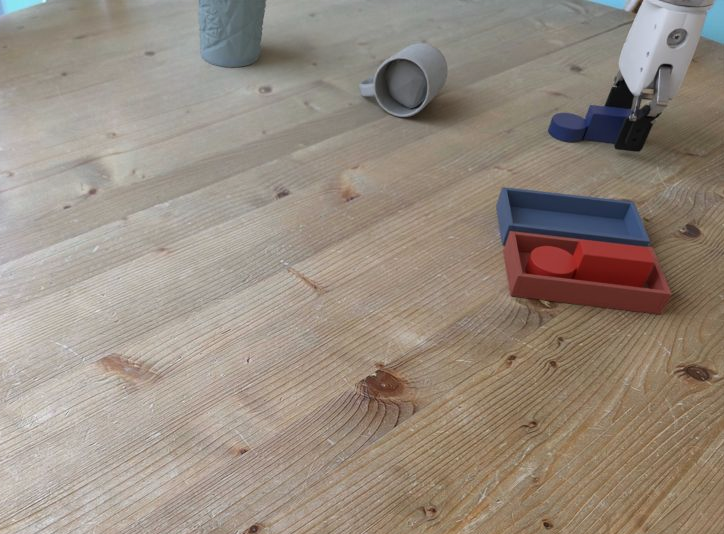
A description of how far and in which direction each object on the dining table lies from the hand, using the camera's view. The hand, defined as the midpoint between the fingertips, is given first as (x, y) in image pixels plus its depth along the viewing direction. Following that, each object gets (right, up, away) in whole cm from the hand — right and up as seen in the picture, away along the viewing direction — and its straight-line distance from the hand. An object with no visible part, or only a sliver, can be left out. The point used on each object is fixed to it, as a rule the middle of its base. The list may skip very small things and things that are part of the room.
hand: (620, 132), depth 94 cm
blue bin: (-13, -15, -15) cm, 25 cm away
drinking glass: (-50, +15, +14) cm, 54 cm away
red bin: (-14, -21, -21) cm, 33 cm away
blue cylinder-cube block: (-3, 0, +1) cm, 3 cm away
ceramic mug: (-27, +5, +5) cm, 28 cm away
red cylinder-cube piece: (-14, -20, -21) cm, 33 cm away
